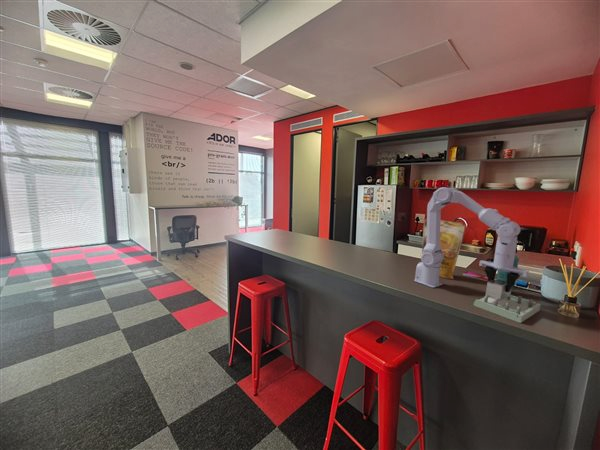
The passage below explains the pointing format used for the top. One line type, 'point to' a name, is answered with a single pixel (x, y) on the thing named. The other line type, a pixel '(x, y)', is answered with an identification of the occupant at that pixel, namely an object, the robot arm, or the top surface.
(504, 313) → the tray
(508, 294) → the block
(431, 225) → the robot arm
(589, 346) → the top surface
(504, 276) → the beverage bottle
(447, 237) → the pancake mix bag
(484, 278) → the smartphone
